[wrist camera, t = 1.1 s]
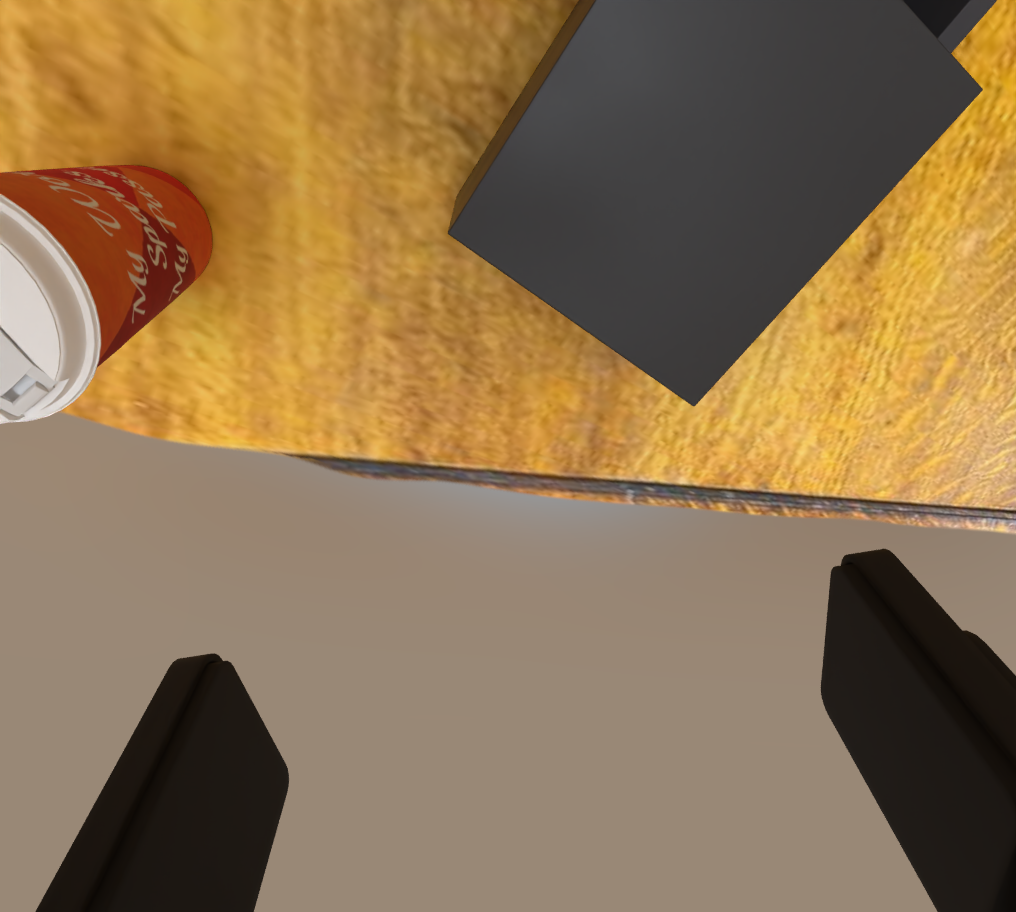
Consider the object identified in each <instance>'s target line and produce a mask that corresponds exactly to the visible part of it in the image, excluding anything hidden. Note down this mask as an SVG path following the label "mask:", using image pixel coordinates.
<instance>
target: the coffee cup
mask: <svg viewBox="0 0 1016 912" xmlns="http://www.w3.org/2000/svg"><path fill="white" fill-rule="evenodd" d="M211 251H212V232H211V227H210V223H209V220H208V218H207V215H206V213H205V211H204V209H203V207H202V206H201V204H200V203H199V201H198V200H197V198H196V197H195V196H194V195H193V194H192V192H191V191H190V190H189V189H188V188H187V187H185V186H184V185H183V184H182V183H181V182H179V181H178V180H177V179H175V178H174V177H172V176H170V175H168V174H166V173H164V172H162V171H159V170H157V169H153V168H149V167H145V166H134V165H115V166H94V167H77V168H61V169H46V170H31V171H17V172H3V173H0V424H3V423H7V422H21V421H30V420H35V419H39V418H43V417H47V416H49V415H51V414H54V413H56V412H58V411H60V410H62V409H64V408H65V407H66V406H68V405H69V404H71V403H72V402H74V401H75V400H76V399H77V398H78V397H79V396H80V395H81V394H82V393H83V392H84V391H85V389H86V388H87V386H88V385H89V383H90V381H91V380H92V378H93V376H94V374H95V371H96V368H97V367H98V366H99V365H101V364H102V363H103V362H104V361H105V360H106V359H108V358H109V357H110V356H111V355H112V354H114V353H115V352H116V351H117V350H118V349H119V348H121V347H122V346H123V345H124V344H125V343H126V342H127V341H128V340H129V339H130V338H131V337H132V336H134V335H135V334H136V333H137V332H138V331H139V330H141V329H142V328H143V327H144V326H145V325H146V324H147V323H149V322H150V321H151V320H152V319H153V318H154V317H155V316H156V315H158V314H159V313H160V312H161V311H162V310H163V309H164V308H166V307H167V306H168V305H169V304H170V303H171V302H172V301H173V300H175V299H176V298H177V297H178V296H179V295H180V294H181V293H182V292H183V291H185V290H186V289H187V288H188V287H189V286H190V285H191V284H192V283H193V282H194V281H195V280H196V279H197V278H198V277H199V276H200V274H201V273H202V272H203V271H204V269H205V267H206V266H207V264H208V261H209V259H210V256H211Z"/></svg>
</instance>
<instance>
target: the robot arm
mask: <svg viewBox="0 0 1016 912" xmlns="http://www.w3.org/2000/svg"><path fill="white" fill-rule="evenodd" d="M821 695H822V700H823V703H824V706H825V709H826V711H827V713H828V715H829V717H830V719H831V721H832V722H833V724H834V726H835V728H836V730H837V731H838V733H839V735H840V737H841V739H842V740H843V742H844V744H845V746H846V748H847V749H848V751H849V753H850V755H851V756H852V758H853V760H854V762H855V764H856V765H857V767H858V769H859V771H860V773H861V774H862V776H863V778H864V780H865V782H866V783H867V785H868V787H869V789H870V791H871V792H872V794H873V796H874V798H875V800H876V801H877V803H878V805H879V807H880V809H881V811H882V812H883V814H884V816H885V818H886V819H887V821H888V823H889V825H890V827H891V829H892V830H893V832H894V834H895V836H896V838H897V839H898V841H899V843H900V845H901V847H902V848H903V850H904V852H905V854H906V855H907V857H908V859H909V861H910V862H911V865H912V866H913V868H914V870H915V872H916V873H917V875H918V877H919V879H920V880H921V882H922V884H923V886H924V888H925V890H926V891H927V893H928V895H929V897H930V899H931V900H932V902H933V904H934V906H935V908H936V909H937V911H938V912H1016V676H1015V675H1014V674H1013V672H1012V671H1011V670H1010V669H1009V668H1008V667H1007V666H1006V665H1005V664H1004V663H1003V661H1002V660H1001V659H1000V658H999V657H998V656H997V655H996V654H995V653H994V652H993V650H992V649H991V648H990V647H989V646H988V645H987V644H986V643H985V642H984V641H983V640H981V639H980V638H979V637H978V636H977V635H975V634H973V633H971V632H969V631H962V630H961V629H960V628H959V627H958V625H957V624H956V623H955V622H954V621H953V620H952V619H951V618H950V616H949V615H948V614H947V613H946V612H945V611H944V610H943V609H942V607H941V606H940V605H939V604H938V603H937V602H936V601H935V600H934V598H933V597H932V596H931V595H930V594H929V593H928V592H927V591H926V589H925V588H924V587H923V586H922V585H921V584H920V583H919V582H918V581H917V580H916V578H915V577H914V576H913V575H912V574H911V573H910V572H909V570H908V569H907V568H906V567H905V566H904V565H903V564H902V563H901V562H900V560H899V559H898V558H897V557H896V556H895V555H894V554H893V553H892V552H891V551H889V550H887V549H881V550H874V551H868V552H861V553H855V554H848V555H845V556H844V557H843V559H842V563H841V566H836V567H833V569H832V571H831V578H830V589H829V601H828V612H827V623H826V635H825V647H824V657H823V669H822V680H821ZM288 784H289V774H288V768H287V766H286V764H285V762H284V760H283V758H282V756H281V754H280V752H279V751H278V749H277V747H276V745H275V743H274V742H273V739H272V737H271V736H270V734H269V732H268V730H267V728H266V726H265V725H264V722H263V721H262V719H261V717H260V715H259V713H258V711H257V709H256V708H255V706H254V704H253V702H252V700H251V699H250V696H249V694H248V693H247V691H246V689H245V687H244V685H243V683H242V682H241V680H240V678H239V676H238V674H237V672H236V670H235V668H234V666H233V665H232V664H231V663H230V662H228V661H223V660H222V659H221V658H220V656H218V655H217V654H206V655H200V656H194V657H187V658H180V659H177V660H176V661H174V662H173V663H172V665H171V666H170V667H169V669H168V671H167V673H166V674H165V676H164V678H163V680H162V682H161V684H160V686H159V687H158V689H157V691H156V693H155V695H154V696H153V698H152V700H151V702H150V704H149V705H148V707H147V709H146V711H145V713H144V715H143V716H142V718H141V720H140V722H139V724H138V726H137V727H136V729H135V731H134V733H133V735H132V736H131V738H130V740H129V742H128V744H127V746H126V748H125V749H124V751H123V753H122V755H121V757H120V758H119V760H118V762H117V764H116V766H115V767H114V769H113V771H112V773H111V775H110V777H109V778H108V780H107V782H106V784H105V786H104V788H103V789H102V791H101V793H100V795H99V797H98V799H97V801H96V802H95V804H94V806H93V808H92V810H91V811H90V813H89V815H88V817H87V819H86V820H85V822H84V824H83V826H82V828H81V830H80V831H79V834H78V835H77V837H76V839H75V840H74V842H73V844H72V846H71V848H70V850H69V852H68V853H67V855H66V857H65V859H64V861H63V862H62V864H61V866H60V868H59V870H58V872H57V873H56V875H55V877H54V879H53V881H52V882H51V884H50V886H49V888H48V890H47V892H46V893H45V895H44V897H43V899H42V901H41V903H40V904H39V906H38V908H37V910H36V912H254V909H255V905H256V901H257V898H258V894H259V891H260V887H261V883H262V880H263V876H264V873H265V869H266V866H267V862H268V859H269V855H270V852H271V848H272V845H273V841H274V837H275V834H276V830H277V826H278V823H279V819H280V816H281V813H282V809H283V805H284V802H285V798H286V795H287V791H288Z"/></svg>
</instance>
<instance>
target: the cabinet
mask: <svg viewBox="0 0 1016 912" xmlns="http://www.w3.org/2000/svg"><path fill="white" fill-rule="evenodd" d="M982 90H983V89H982V88H981V87H980V86H979V84H978V83H977V82H976V81H975V80H974V79H973V78H972V77H971V75H970V74H969V73H968V72H967V71H966V70H965V69H964V68H963V67H962V65H961V64H960V63H959V62H958V61H957V60H956V59H955V58H954V57H953V55H952V54H951V53H950V52H949V51H948V50H947V49H946V48H945V46H944V45H943V44H942V43H941V42H940V41H939V40H938V39H937V38H936V36H935V35H934V34H933V33H932V32H931V31H930V30H929V29H928V27H927V26H926V25H925V24H924V23H923V22H922V21H921V20H920V19H919V17H918V16H917V15H916V14H915V13H914V12H913V11H912V10H911V9H910V7H909V6H908V5H907V4H906V3H905V2H904V1H903V0H579V1H578V3H577V4H576V6H575V7H574V9H573V11H572V12H571V14H570V16H569V17H568V19H567V20H566V22H565V24H564V25H563V27H562V28H561V30H560V32H559V33H558V35H557V36H556V38H555V40H554V41H553V43H552V44H551V46H550V48H549V49H548V51H547V52H546V54H545V56H544V57H543V59H542V60H541V62H540V64H539V65H538V67H537V68H536V70H535V72H534V73H533V75H532V76H531V78H530V80H529V81H528V83H527V84H526V86H525V88H524V89H523V91H522V92H521V94H520V96H519V97H518V99H517V100H516V102H515V104H514V105H513V107H512V108H511V110H510V112H509V113H508V115H507V116H506V118H505V120H504V121H503V123H502V125H501V126H500V128H499V129H498V131H497V133H496V134H495V136H494V137H493V139H492V141H491V142H490V144H489V145H488V147H487V149H486V150H485V152H484V153H483V155H482V157H481V158H480V160H479V161H478V163H477V165H476V166H475V168H474V169H473V171H472V173H471V174H470V176H469V177H468V179H467V181H466V182H465V184H464V185H463V187H462V189H461V190H460V192H459V193H458V195H457V197H456V201H455V205H454V209H453V213H452V218H451V222H450V226H449V230H448V234H449V235H450V236H452V237H453V238H454V239H456V240H457V241H459V242H460V243H462V244H463V245H464V246H466V247H467V248H469V249H470V250H472V251H473V252H474V253H476V254H477V255H479V256H480V257H482V258H483V259H484V260H486V261H487V262H489V263H490V264H491V265H493V266H494V267H496V268H497V269H499V270H500V271H501V272H503V273H504V274H506V275H507V276H509V277H510V278H511V279H513V280H514V281H516V282H517V283H519V284H520V285H521V286H523V287H524V288H526V289H527V290H528V291H530V292H531V293H533V294H534V295H536V296H537V297H538V298H540V299H541V300H543V301H544V302H546V303H547V304H548V305H550V306H551V307H553V308H554V309H556V310H557V311H558V312H560V313H561V314H563V315H564V316H565V317H567V318H568V319H570V320H571V321H573V322H574V323H575V324H577V325H578V326H580V327H581V328H583V329H584V330H585V331H587V332H588V333H590V334H591V335H593V336H594V337H595V338H597V339H598V340H600V341H601V342H602V343H604V344H605V345H607V346H608V347H610V348H611V349H612V350H614V351H615V352H617V353H618V354H620V355H621V356H622V357H624V358H625V359H627V360H628V361H630V362H631V363H632V364H634V365H635V366H637V367H638V368H639V369H641V370H642V371H644V372H645V373H647V374H648V375H649V376H651V377H652V378H654V379H655V380H657V381H658V382H659V383H661V384H662V385H664V386H665V387H667V388H668V389H669V390H671V391H672V392H674V393H675V394H676V395H678V396H679V397H681V398H682V399H684V400H685V401H686V402H688V403H689V404H691V405H692V406H695V405H696V404H697V403H698V402H699V401H700V400H701V399H702V398H703V397H704V395H705V394H706V393H707V392H708V391H709V390H710V389H711V388H712V387H713V386H714V385H715V383H716V382H717V381H718V380H719V379H720V378H721V377H722V376H723V375H724V374H725V372H726V371H727V370H728V369H729V368H730V367H731V366H732V365H733V364H734V363H735V361H736V360H737V359H738V358H739V357H740V356H741V355H742V354H743V353H744V352H745V350H746V349H747V348H748V347H749V346H750V345H751V344H752V343H753V342H754V341H755V339H756V338H757V337H758V336H759V335H760V334H761V333H762V332H763V331H764V330H765V329H766V327H767V326H768V325H769V324H770V323H771V322H772V321H773V320H774V319H775V318H776V316H777V315H778V314H779V313H780V312H781V311H782V310H783V309H784V308H785V307H786V305H787V304H788V303H789V302H790V301H791V300H792V299H793V298H794V297H795V296H796V294H797V293H798V292H799V291H800V290H801V289H802V288H803V287H804V286H805V285H806V283H807V282H808V281H809V280H810V279H811V278H812V277H813V276H814V275H815V274H816V273H817V271H818V270H819V269H820V268H821V267H822V266H823V265H824V264H825V263H826V262H827V260H828V259H829V258H830V257H831V256H832V255H833V254H834V253H835V252H836V251H837V249H838V248H839V247H840V246H841V245H842V244H843V243H844V242H845V241H846V240H847V238H848V237H849V236H850V235H851V234H852V233H853V232H854V231H855V230H856V229H857V227H858V226H859V225H860V224H861V223H862V222H863V221H864V220H865V219H866V218H867V217H868V215H869V214H870V213H871V212H872V211H873V210H874V209H875V208H876V207H877V206H878V204H879V203H880V202H881V201H882V200H883V199H884V198H885V197H886V196H887V195H888V193H889V192H890V191H891V190H892V189H893V188H894V187H895V186H896V185H897V184H898V182H899V181H900V180H901V179H902V178H903V177H904V176H905V175H906V174H907V173H908V171H909V170H910V169H911V168H912V167H913V166H914V165H915V164H916V163H917V162H918V161H919V159H920V158H921V157H922V156H923V155H924V154H925V153H926V152H927V151H928V150H929V148H930V147H931V146H932V145H933V144H934V143H935V142H936V141H937V140H938V139H939V137H940V136H941V135H942V134H943V133H944V132H945V131H946V130H947V129H948V128H949V126H950V125H951V124H952V123H953V122H954V121H955V120H956V119H957V118H958V117H959V115H960V114H961V113H962V112H963V111H964V110H965V109H966V108H967V107H968V106H969V105H970V103H971V102H972V101H973V100H974V99H975V98H976V97H977V96H978V95H979V94H980V92H981V91H982Z"/></svg>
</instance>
